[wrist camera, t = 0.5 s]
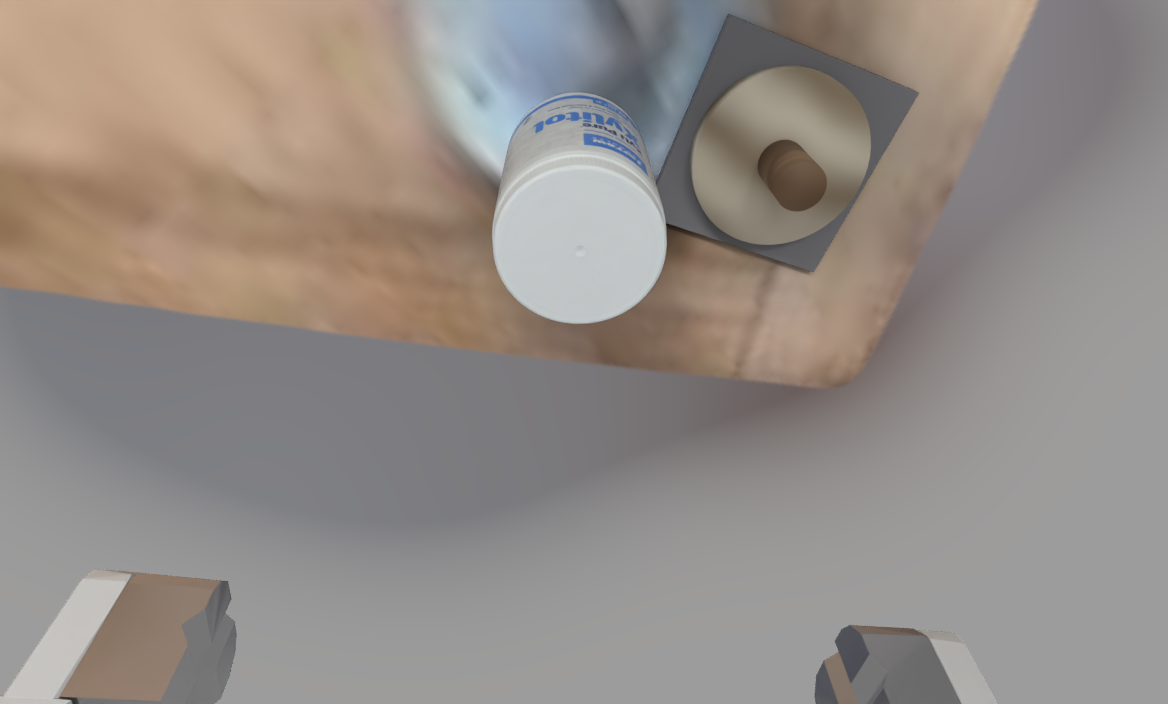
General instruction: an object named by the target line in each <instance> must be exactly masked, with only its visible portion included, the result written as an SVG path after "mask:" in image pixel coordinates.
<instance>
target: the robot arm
mask: <svg viewBox="0 0 1168 704" xmlns="http://www.w3.org/2000/svg"><path fill="white" fill-rule="evenodd" d="M230 601H231V594H230V589H229V584H228V581H221V580H210V579H200V578H188V577H179V576H168V575H157V574H147V573H137V572H126V571H113V570H100V569H94V570H93V571H92V572H91V573H89V574H88V575H87V576H86V577H84V578H83V579H82V580H81V581H80V582H79V584H78V585H77V587H76V588H75V589H74V591H73V592H72V594H71V596H70V597H69V598H68V600H67V601H66V603H65V604H64V606H63V607H62V609H61V610H60V612H59V613H58V615H57V616H56V618H55V619H54V621H53V622H52V624H51V625H50V627H49V628H48V630H47V631H46V633H45V634H44V636H43V637H42V639H41V640H40V641H39V643H38V645H37V646H36V647H35V649H34V650H33V652H32V653H31V655H30V656H29V658H28V659H27V661H26V662H25V664H24V665H23V667H22V668H21V670H20V671H19V673H18V674H17V676H16V677H15V679H14V680H13V682H12V683H11V684H10V686H9V687H8V689H7V690H6V692H5V694H4V695H0V704H214V703H216V702H217V701H218V700H219V699H221V697H222V693H223V691H224V689H225V686H226V684H227V681H228V678H229V675H230V672H231V668H232V663H233V659H234V655H235V649H236V627H235V621H234V620H233V619H231V618H230V617H229V616H228V615H227V614H226V613H225V612H226V610H227V608H228V605H229V603H230ZM835 643H836V646H837V648H838V651H839V652H838V653H836V654H834V655H833V656H831V657H829V658H827V659H826V660H824V661H823V663H822V665H821V667H820V669H819V671H818V673H817V675H816V684H815V702H816V704H997V702H996V700H995V698H994V696H993V695H992V693H991V691H990V689H989V687H988V686H987V684H986V682H985V680H984V678H983V676H982V675H981V673H980V671H979V669H978V667H977V666H976V664H975V662H974V660H973V658H972V657H971V655H970V654H969V651H968V649H967V647H966V646H965V644H964V642H963V641H962V640H961V639H960V638H959V637H958V636H957V635H956V634H955V633H951V632H942V631H924V630H915V629H909V628H893V627H873V626H857V625H849V626H847V627H845V628H843V629H841V631H840V633H839V635H838V636H837V638H836V640H835Z"/></svg>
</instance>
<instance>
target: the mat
mask: <svg viewBox="0 0 1168 704" xmlns="http://www.w3.org/2000/svg"><path fill="white" fill-rule="evenodd" d="M785 65H789V66H803V67H809V68H812V69H815V70H819V71H821V72H823V73H825V74H827V75H829V76H831V77H832V78H834V79H835V80H837V81H838V82H839V83H841V84H842V85H844V86H845V87H846V88H847V89H848V90H849V91H850V92H851V93H852V94H853V95H854V96H855V97H856V99H857V100H858V101H859V103H860V104H861V106H862V108H863V110H864V112H865V114H866V117H867V120H868V123H869V128H870V134H871V151H870V159H869V164H868V168H867V171H866V174H865V176H864V179H863V181H862V183H861V185H860V187H859V189H858V191H857V193H856V194H855V196H854V197H853V199H852V200H851V202H850V203H849V204H848V205H847V206H846V208H845V209H844V210H843V211H842V212H841V213H840V214H839V215H838V216H837V217H836V218H835V219H834V220H832V221H831V222H830V223H828V224H827V225H826V226H824V227H823V228H821V229H820V230H818V231H816V232H815V233H813V234H811V235H808V236H806V237H804V238H801V239H798V240H796V241H792V242H788V243H783V244H775V245H760V244H753V243H748V242H744V241H741V240H739V239H736V238H734V237H731V236H730V235H728V234H726V233H725V232H723V231H722V230H721V229H719V228H718V227H717V226H716V225H715V224H714V223H713V222H712V221H711V220H710V219H709V218H708V216H707V215H706V214H705V212H704V211H703V209H702V207H701V205H700V203H699V201H698V199H697V197H696V194H695V192H694V189H693V186H692V182H691V176H690V153H691V147H692V143H693V139H694V136H695V133H696V131H697V128H698V126H699V124H700V122H701V120H702V118H703V116H704V115H705V114H706V112H707V111H708V109H709V108H710V106H711V105H712V104H713V103H714V102H715V100H716V99H717V98H718V97H719V96H720V95H721V94H722V93H723V92H725V91H726V90H727V89H728V88H729V87H731V86H732V85H733V84H735V83H736V82H738V81H739V80H741V79H743V78H745V77H746V76H748V75H750V74H753V73H755V72H758V71H760V70H763V69H767V68H771V67H777V66H785ZM918 94H919V93H918V92H916V91H914V90H912V89H910V88H907V87H905V86H902V85H900V84H897V83H895V82H893V81H890V80H888V79H885V78H883V77H880V76H878V75H875V74H873V73H871V72H868V71H866V70H863V69H861V68H858V67H856V66H854V65H851V64H849V63H846V62H844V61H841V60H839V59H837V58H834V57H832V56H829V55H827V54H824V53H822V52H820V51H817V50H815V49H812V48H810V47H807V46H805V45H802V44H800V43H798V42H795V41H793V40H790V39H788V38H785V37H783V36H781V35H778V34H776V33H773V32H771V31H768V30H766V29H764V28H761V27H759V26H756V25H754V24H751V23H749V22H747V21H744V20H742V19H739V18H737V17H734V16H732V15H729V14H728V16H727V18H726V21H725V23H724V25H723V28H722V30H721V32H720V35H719V37H718V39H717V42H716V44H715V46H714V49H713V51H712V53H711V56H710V58H709V60H708V63H707V65H706V67H705V70H704V72H703V74H702V77H701V79H700V81H699V84H698V86H697V88H696V91H695V93H694V95H693V98H692V100H691V102H690V105H689V107H688V109H687V112H686V114H685V116H684V118H683V121H682V123H681V125H680V128H679V130H678V132H677V135H676V137H675V139H674V142H673V144H672V146H671V149H670V151H669V153H668V156H667V158H666V160H665V163H664V165H663V167H662V170H661V172H660V174H659V177H658V179H657V181H656V185H657V189H658V192H659V195H660V199H661V202H662V206H663V210H664V214H665V220H666V223H668V224H671V225H674V226H677V227H680V228H683V229H686V230H689V231H692V232H695V233H698V234H701V235H704V236H707V237H710V238H713V239H716V240H719V241H722V242H725V243H728V244H731V245H734V246H737V247H740V248H743V249H746V250H749V251H752V252H755V253H757V254H760V255H763V256H766V257H769V258H772V259H775V260H778V261H781V262H784V263H787V264H790V265H793V266H796V267H799V268H802V269H805V270H808V271H811V272H814V270H815V269H816V267H817V265H818V264H819V262H820V260H821V259H822V257H823V255H824V253H825V252H826V250H827V248H828V247H829V245H830V243H831V242H832V240H833V238H834V236H835V235H836V233H837V231H838V230H839V228H840V226H841V225H842V223H843V221H844V219H845V218H846V216H847V214H848V213H849V211H850V209H851V208H852V206H853V204H854V203H855V201H856V199H857V197H858V196H859V194H860V192H861V191H862V189H863V187H864V186H865V184H866V182H867V180H868V179H869V177H870V175H871V174H872V172H873V170H874V169H875V167H876V165H877V163H878V162H879V160H880V158H881V157H882V155H883V153H884V152H885V150H886V148H887V146H888V145H889V143H890V141H891V140H892V138H893V136H894V135H895V133H896V131H897V129H898V128H899V126H900V124H901V123H902V121H903V119H904V118H905V116H906V114H907V113H908V111H909V109H910V107H911V106H912V104H913V102H914V101H915V99H916V97H917V96H918Z"/></svg>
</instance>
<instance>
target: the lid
mask: <svg viewBox="0 0 1168 704" xmlns="http://www.w3.org/2000/svg"><path fill="white" fill-rule="evenodd" d="M870 151H871V134H870V128H869V123H868V120H867V117H866V114H865V112H864V110H863V108H862V106H861V104H860V103H859V101H858V100H857V99H856V97H855V96H854V95H853V94H852V93H851V92H850V91H849V90H848V89H847V88H846V87H845V86H844V85H842V84H841V83H839V82H838V81H837V80H835V79H834V78H832V77H831V76H829V75H827V74H825V73H823V72H821V71H819V70H815V69H812V68H809V67H803V66H789V65H785V66H777V67H771V68H767V69H763V70H760V71H758V72H755V73H753V74H750V75H748V76H746V77H745V78H743V79H741V80H739V81H738V82H736V83H735V84H733V85H732V86H731V87H729V88H728V89H727V90H726V91H725V92H723V93H722V94H721V95H720V96H719V97H718V98H717V99H716V100H715V102H714V103H713V104H712V105H711V106H710V108H709V109H708V111H707V112H706V114H705V115H704V116H703V118H702V120H701V122H700V124H699V126H698V128H697V131H696V133H695V136H694V139H693V143H692V147H691V153H690V176H691V182H692V186H693V189H694V192H695V194H696V197H697V199H698V201H699V203H700V205H701V207H702V209H703V211H704V212H705V214H706V215H707V216H708V218H709V219H710V220H711V221H712V222H713V223H714V224H715V225H716V226H717V227H718V228H719V229H721V230H722V231H723V232H725V233H726V234H728V235H730V236H731V237H734V238H736V239H739V240H741V241H744V242H748V243H753V244H760V245H775V244H783V243H788V242H792V241H796V240H798V239H801V238H804V237H806V236H808V235H811V234H813V233H815V232H816V231H818V230H820V229H821V228H823V227H824V226H826V225H827V224H828V223H830V222H831V221H832V220H834V219H835V218H836V217H837V216H838V215H839V214H840V213H841V212H842V211H843V210H844V209H845V208H846V206H847V205H848V204H849V203H850V202H851V200H852V199H853V197H854V196H855V194H856V193H857V191H858V189H859V187H860V185H861V183H862V181H863V179H864V176H865V174H866V171H867V168H868V164H869V159H870Z"/></svg>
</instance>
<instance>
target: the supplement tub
mask: <svg viewBox="0 0 1168 704" xmlns="http://www.w3.org/2000/svg"><path fill="white" fill-rule="evenodd" d="M492 243H493V254H494V261H495V265H496V268H497V271H498V273H499V276H500V278H501V280H502V281H503V283H504V285H505V286H506V288H507V289H508V291H509V292H510V293H511V294H512V296H513V297H514V298H515V299H516V300H518V301H519V302H520V303H521V304H522V305H523V306H525V307H526V308H527V309H529V310H531V311H532V312H534V313H536V314H538V315H540V316H542V317H544V318H547V319H550V320H553V321H557V322H562V323H569V324H590V323H596V322H601V321H605V320H608V319H611V318H614V317H616V316H618V315H620V314H622V313H624V312H626V311H628V310H629V309H631V308H632V307H634V306H635V305H636V304H638V303H639V302H640V301H641V300H642V299H643V298H644V297H645V296H646V295H647V294H648V292H649V291H650V290H651V289H652V287H653V286H654V284H655V283H656V281H657V279H658V278H659V276H660V273H661V271H662V268H663V265H664V261H665V256H666V247H667V239H666V220H665V214H664V210H663V206H662V202H661V199H660V195H659V192H658V189H657V185H656V182H655V179H654V175H653V172H652V169H651V165H650V162H649V158H648V155H647V152H646V149H645V145H644V142H643V139H642V137H641V134H640V132H639V130H638V128H637V126H636V125H635V123H634V122H633V120H632V119H631V118H630V116H629V115H628V114H627V113H626V112H625V111H624V110H622V109H621V108H620V107H619V106H618V105H616V104H615V103H613V102H611V101H610V100H608V99H605V98H603V97H600V96H597V95H594V94H589V93H581V92H573V93H565V94H561V95H557V96H554V97H551V98H549V99H547V100H545V101H543V102H541V103H539V104H537V105H536V106H535V107H533V108H532V109H531V110H529V111H528V112H527V113H526V114H525V115H524V117H523V118H522V119H521V120H520V122H519V123H518V125H517V126H516V128H515V130H514V132H513V134H512V136H511V139H510V142H509V146H508V150H507V155H506V159H505V164H504V169H503V173H502V178H501V183H500V188H499V193H498V198H497V203H496V208H495V214H494V220H493V227H492Z"/></svg>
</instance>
